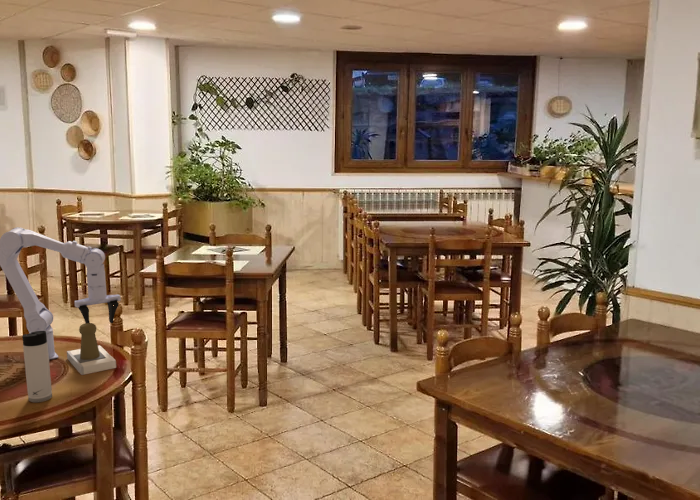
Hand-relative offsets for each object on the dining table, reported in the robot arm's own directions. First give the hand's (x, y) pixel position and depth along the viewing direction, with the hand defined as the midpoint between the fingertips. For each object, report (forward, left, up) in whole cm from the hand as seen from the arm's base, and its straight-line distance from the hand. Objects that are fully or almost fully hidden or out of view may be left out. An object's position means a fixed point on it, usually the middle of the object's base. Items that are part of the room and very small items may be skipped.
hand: (99, 324), depth 231 cm
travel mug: (+28, -25, -11) cm, 39 cm away
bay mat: (+8, -6, -8) cm, 13 cm away
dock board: (+7, -5, -10) cm, 13 cm away
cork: (+8, -6, -8) cm, 13 cm away
